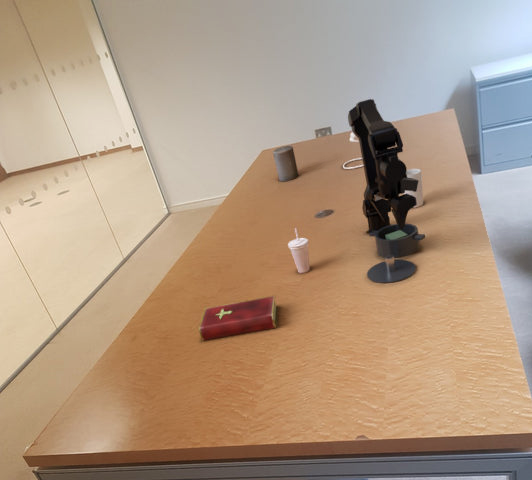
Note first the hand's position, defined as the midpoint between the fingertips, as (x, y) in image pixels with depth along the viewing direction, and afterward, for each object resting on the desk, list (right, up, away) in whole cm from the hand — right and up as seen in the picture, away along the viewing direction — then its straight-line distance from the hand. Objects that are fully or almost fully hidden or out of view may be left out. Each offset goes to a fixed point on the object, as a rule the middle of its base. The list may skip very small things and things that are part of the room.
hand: (394, 225), depth 167 cm
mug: (+16, +17, +38) cm, 44 cm away
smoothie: (-26, -12, +12) cm, 31 cm away
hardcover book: (-45, -30, -8) cm, 55 cm away
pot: (+3, -6, +8) cm, 10 cm away
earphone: (+8, +51, +95) cm, 108 cm away
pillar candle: (-27, +47, +104) cm, 117 cm away
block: (+3, -6, +7) cm, 10 cm away
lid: (-2, -14, -4) cm, 15 cm away
